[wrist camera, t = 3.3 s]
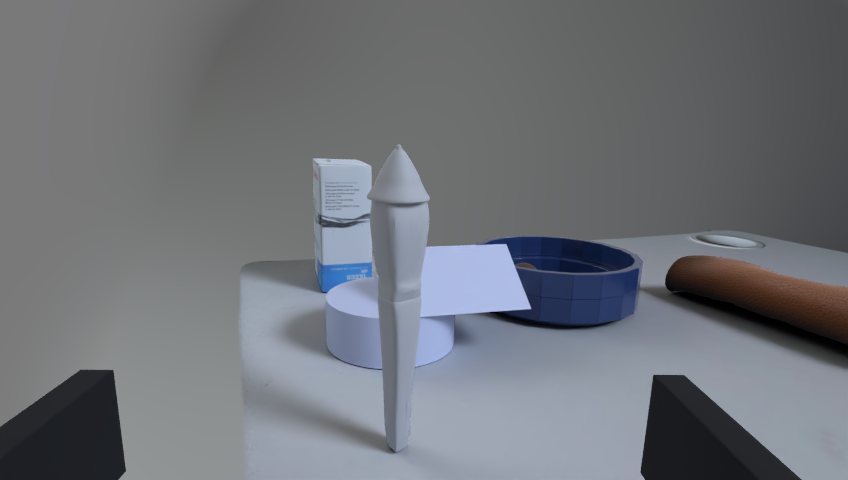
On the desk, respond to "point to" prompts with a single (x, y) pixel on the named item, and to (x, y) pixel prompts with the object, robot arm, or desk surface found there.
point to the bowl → (573, 280)
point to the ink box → (341, 221)
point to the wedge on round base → (425, 302)
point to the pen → (398, 283)
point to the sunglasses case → (765, 293)
